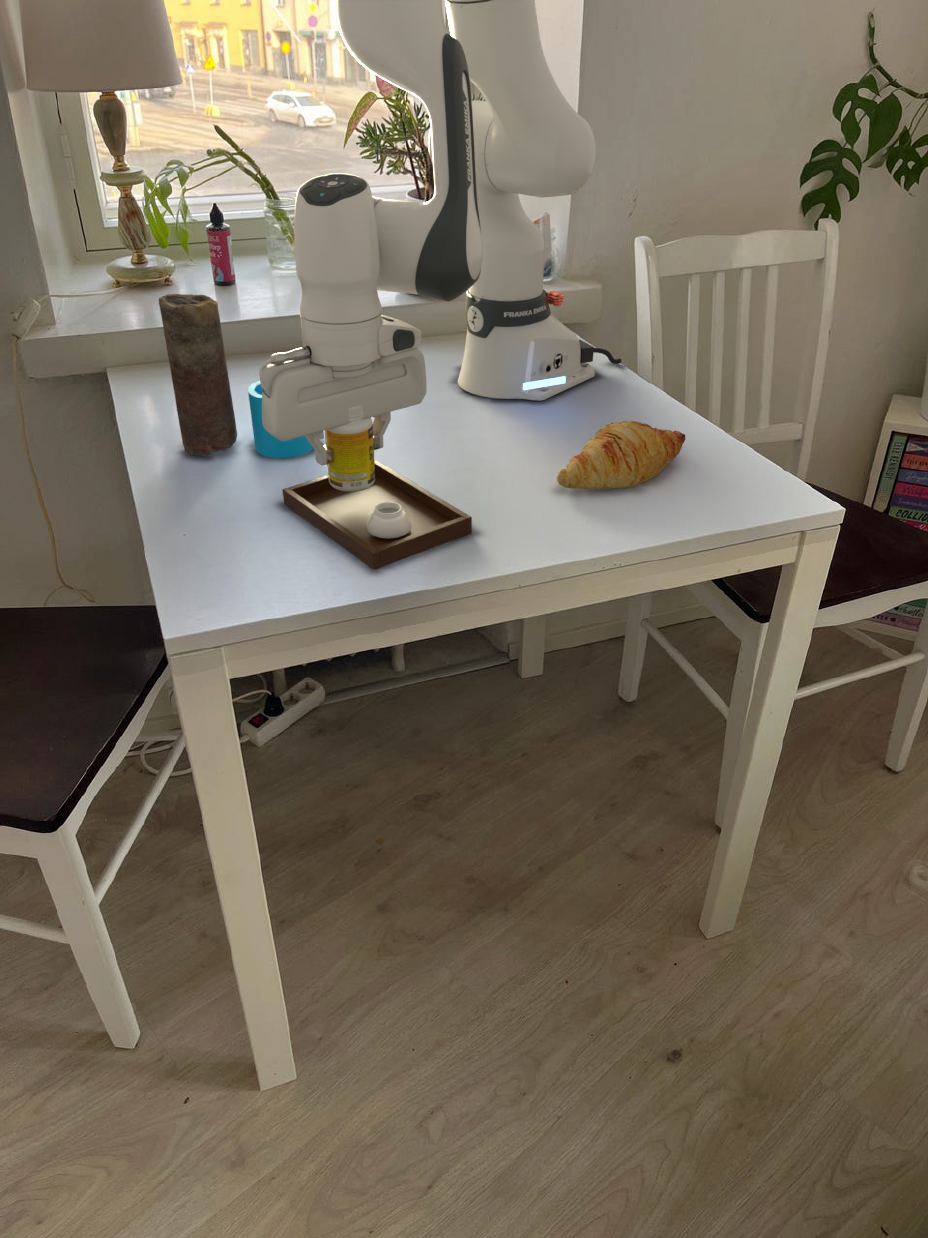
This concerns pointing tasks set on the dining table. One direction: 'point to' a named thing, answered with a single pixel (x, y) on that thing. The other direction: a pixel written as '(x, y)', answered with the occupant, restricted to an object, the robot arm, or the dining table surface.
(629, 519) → the dining table surface
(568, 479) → the croissant
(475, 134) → the robot arm
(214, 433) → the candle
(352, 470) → the supplement bottle
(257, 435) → the mug
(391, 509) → the lidless jar
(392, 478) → the serving tray
